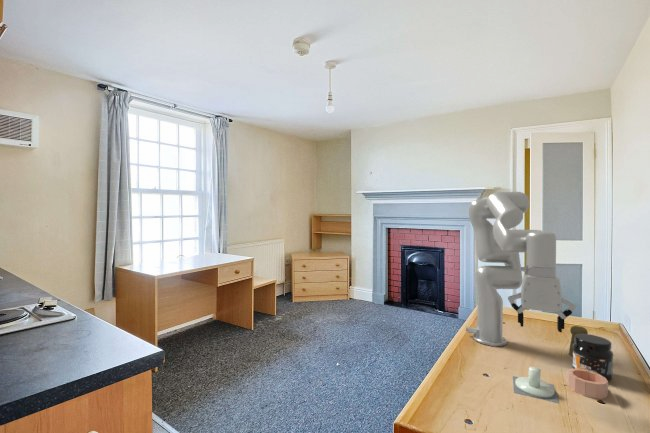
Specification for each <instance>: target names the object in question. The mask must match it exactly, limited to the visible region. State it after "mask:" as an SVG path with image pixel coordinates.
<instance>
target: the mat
mask: <svg viewBox="0 0 650 433" xmlns="http://www.w3.org/2000/svg"><path fill="white" fill-rule="evenodd" d="M517 378H519V376H515V375H512V381H513V382H512V384H513V393H514V394H517V395H523V396H525V397H529V398H530V397H531V398H534V399H539V400H544V401H547V402H552V403H555V404H560V401H559V398H558V395H557V392H556V388H555V385H554V384H552V383H548V384H549V385H551V386H552V387H553V388H554V396H553V397H551V398H539V397H534V396H531V395H528V394H526V393H524V392H522V391H520V390H519V389H518V388H517V387H516V385H515V380H516V379H517Z"/></svg>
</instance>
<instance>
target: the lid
mask: <svg viewBox="0 0 650 433" xmlns="http://www.w3.org/2000/svg"><path fill="white" fill-rule="evenodd" d="M518 377H519V376H518ZM549 384H550V383H548V382H546V381H544V380H542V379H541V369H540V368H538V367H536V366H529V367H528V376H520V377H519V378H517V379H516V380H515V385H516V387H517V388H518V389H519V390H520V391H522V392H524V393H526V394H528V395H531V396H534V397H539V398H551V397H553V396H554V388H555V387H554V388H553V387H552V386H551V385H549ZM534 397H533V398H534Z"/></svg>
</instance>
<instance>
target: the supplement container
mask: <svg viewBox="0 0 650 433" xmlns="http://www.w3.org/2000/svg"><path fill="white" fill-rule="evenodd" d="M613 360H614V352H613V351H612V342H611V341H610V340H609V339H607V338H604V337H601V336H600V335H599V336H598V335H594V334H589V333H588V334H577V335H575V343H574V344H573V357H572V366H571V367H572V369H573V368H579V369H584V370H589V371H592V372H595V373H598V374H600V375H601V376H603V377H605V378H606V379H607V381H608V382H609V381H611V380H612V379H613V377H614V375H613V373H614V372H613V368H614V366H613V364H614V362H613Z"/></svg>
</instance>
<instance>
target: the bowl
mask: <svg viewBox="0 0 650 433" xmlns="http://www.w3.org/2000/svg"><path fill="white" fill-rule="evenodd" d="M566 383H567V387H568V388H569V389H570V390H571V391H573V392H574V393H576V394H578V395H581V396H584V397H588V398H590V399H596V400H597V399H598V400H599V399H605V398H607V397H608V392H609V381H607V379H606V378H605V377H603V376H601V375H600V374H598V373H595V372H592V371H589V370H584V369H579V368H573V367H572V368H570V369H568V370H567V381H566Z"/></svg>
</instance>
